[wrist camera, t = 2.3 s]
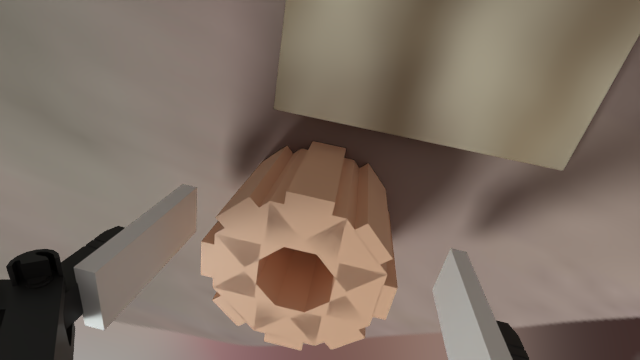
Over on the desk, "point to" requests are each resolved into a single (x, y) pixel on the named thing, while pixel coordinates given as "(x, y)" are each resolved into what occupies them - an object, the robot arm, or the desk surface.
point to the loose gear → (304, 249)
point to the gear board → (458, 69)
